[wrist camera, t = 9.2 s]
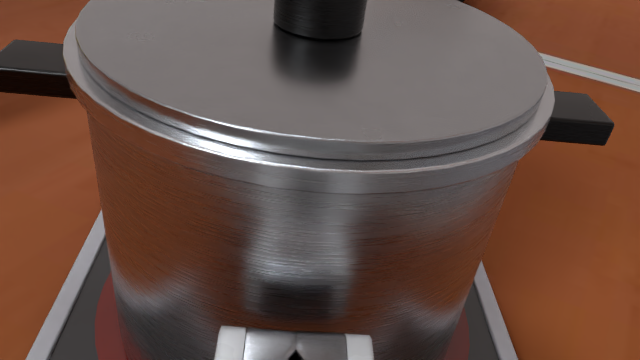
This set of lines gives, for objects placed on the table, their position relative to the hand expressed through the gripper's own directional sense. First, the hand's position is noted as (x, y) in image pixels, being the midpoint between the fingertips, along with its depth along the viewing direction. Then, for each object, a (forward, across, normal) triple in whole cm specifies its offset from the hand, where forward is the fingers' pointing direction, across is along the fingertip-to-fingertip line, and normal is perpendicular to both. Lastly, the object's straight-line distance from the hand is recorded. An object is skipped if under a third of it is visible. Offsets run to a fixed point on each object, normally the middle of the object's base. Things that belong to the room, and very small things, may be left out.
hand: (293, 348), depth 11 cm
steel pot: (+6, 0, +5) cm, 8 cm away
